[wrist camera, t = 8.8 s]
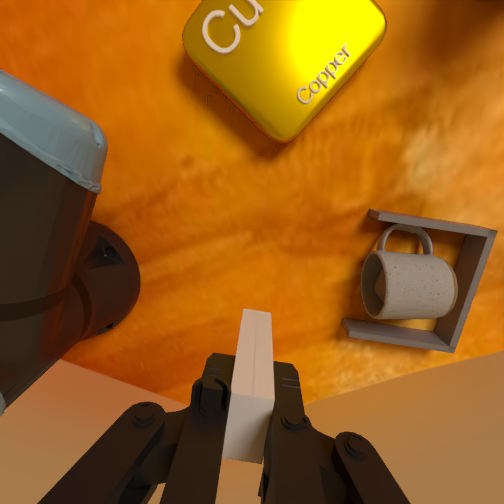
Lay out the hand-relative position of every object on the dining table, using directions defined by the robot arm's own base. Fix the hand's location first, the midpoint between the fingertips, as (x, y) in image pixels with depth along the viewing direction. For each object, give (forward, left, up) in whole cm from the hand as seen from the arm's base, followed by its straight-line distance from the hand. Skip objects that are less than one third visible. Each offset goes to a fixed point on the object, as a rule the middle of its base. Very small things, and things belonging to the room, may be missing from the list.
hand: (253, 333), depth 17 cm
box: (+19, -2, -22) cm, 29 cm away
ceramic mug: (+17, 0, -23) cm, 28 cm away
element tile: (-1, +21, -23) cm, 31 cm away
